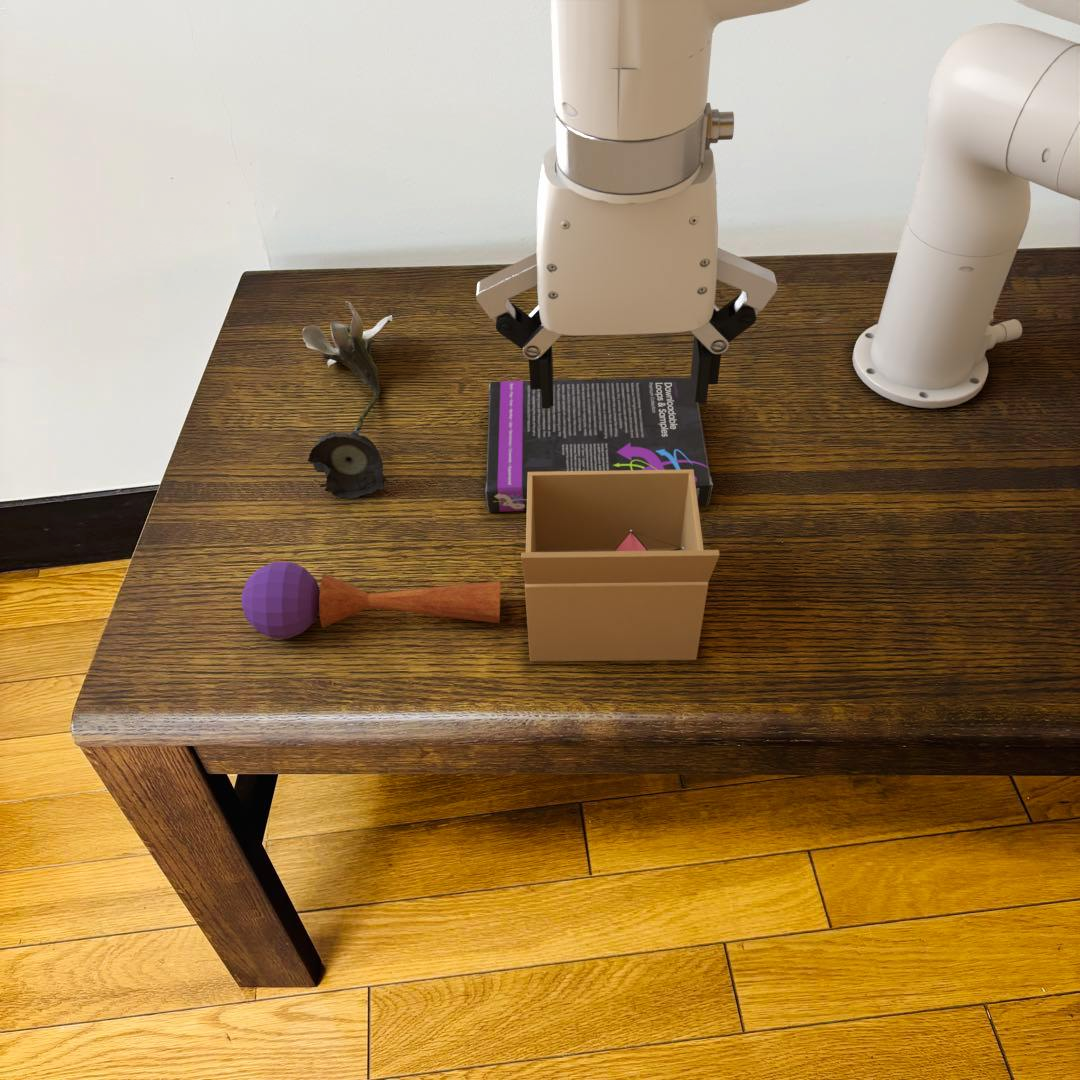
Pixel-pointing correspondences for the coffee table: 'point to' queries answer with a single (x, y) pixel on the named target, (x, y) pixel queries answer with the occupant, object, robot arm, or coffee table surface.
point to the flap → (618, 566)
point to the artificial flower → (352, 455)
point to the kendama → (350, 600)
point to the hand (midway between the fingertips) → (622, 391)
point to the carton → (601, 525)
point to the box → (592, 433)
